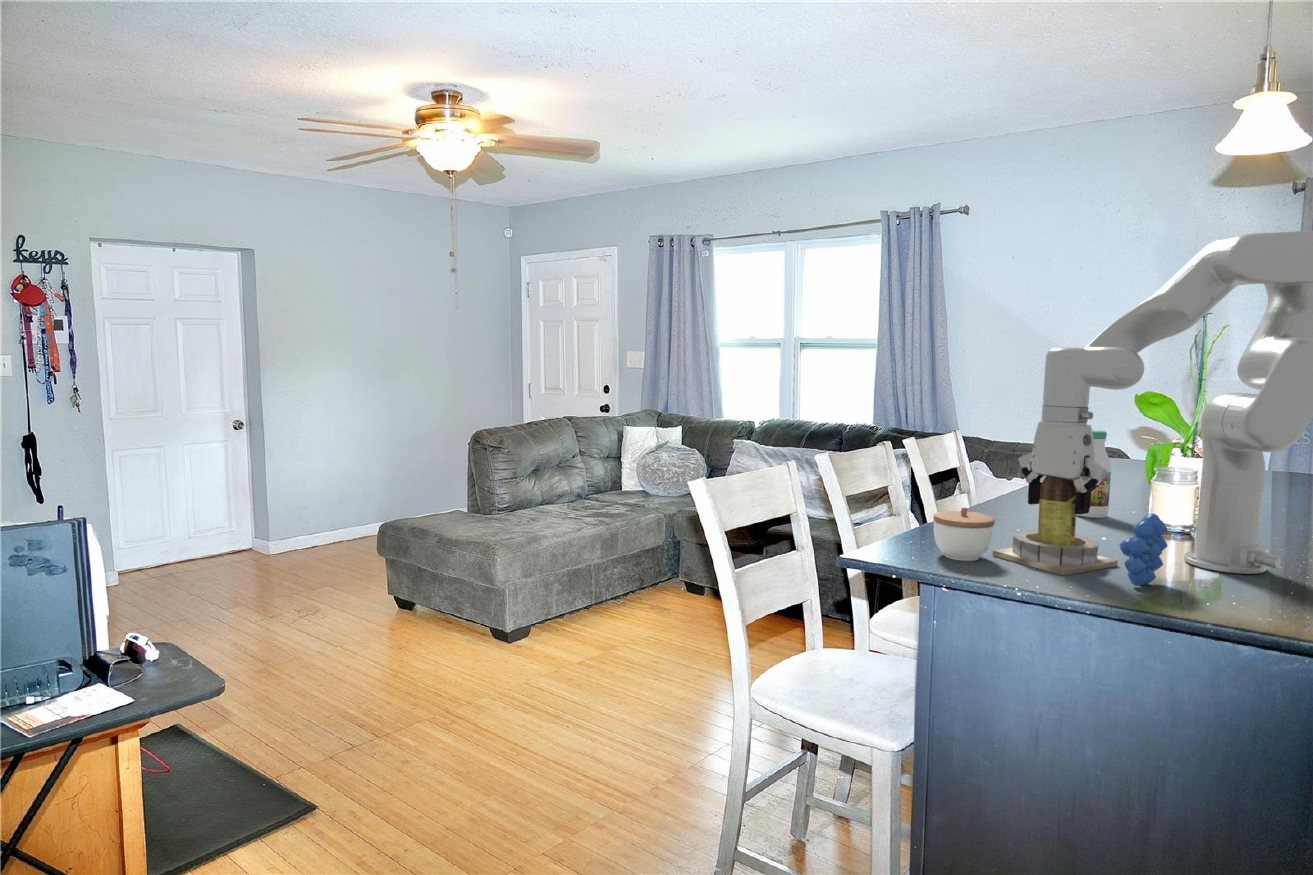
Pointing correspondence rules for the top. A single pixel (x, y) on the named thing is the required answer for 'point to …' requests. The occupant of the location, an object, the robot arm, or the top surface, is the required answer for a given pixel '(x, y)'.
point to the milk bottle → (1103, 490)
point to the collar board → (1055, 567)
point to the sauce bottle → (1057, 512)
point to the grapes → (1144, 550)
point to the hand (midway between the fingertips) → (1057, 508)
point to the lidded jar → (963, 534)
